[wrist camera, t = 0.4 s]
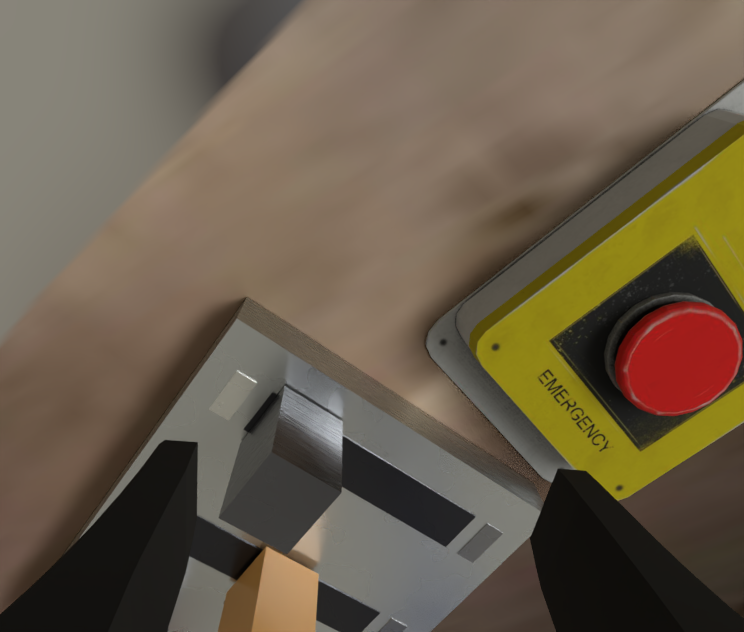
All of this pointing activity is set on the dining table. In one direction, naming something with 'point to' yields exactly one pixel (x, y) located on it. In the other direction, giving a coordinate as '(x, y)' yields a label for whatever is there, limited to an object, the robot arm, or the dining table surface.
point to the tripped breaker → (272, 597)
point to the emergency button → (619, 318)
